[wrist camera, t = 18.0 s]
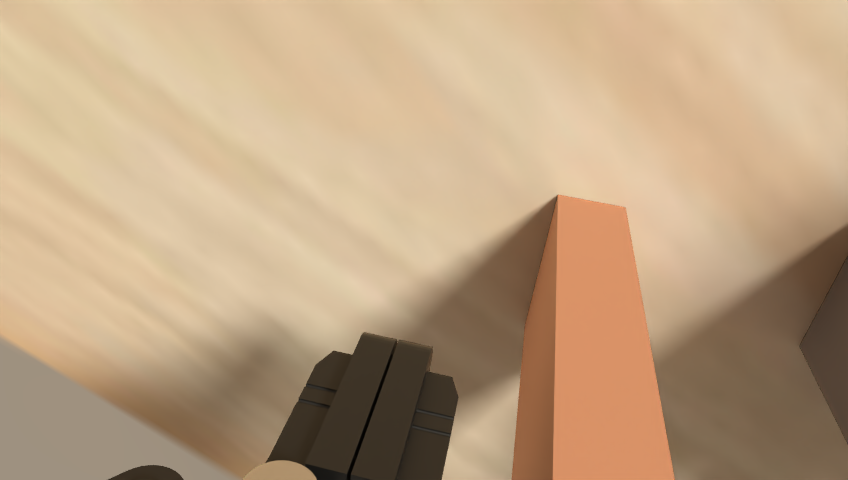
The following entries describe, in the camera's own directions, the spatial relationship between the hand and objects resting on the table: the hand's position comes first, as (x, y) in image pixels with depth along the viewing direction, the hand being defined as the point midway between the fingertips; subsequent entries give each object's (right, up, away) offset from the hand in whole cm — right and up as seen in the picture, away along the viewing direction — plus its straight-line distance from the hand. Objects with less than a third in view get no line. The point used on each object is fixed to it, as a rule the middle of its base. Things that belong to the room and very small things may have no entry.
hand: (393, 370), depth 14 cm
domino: (+5, +2, +7) cm, 9 cm away
